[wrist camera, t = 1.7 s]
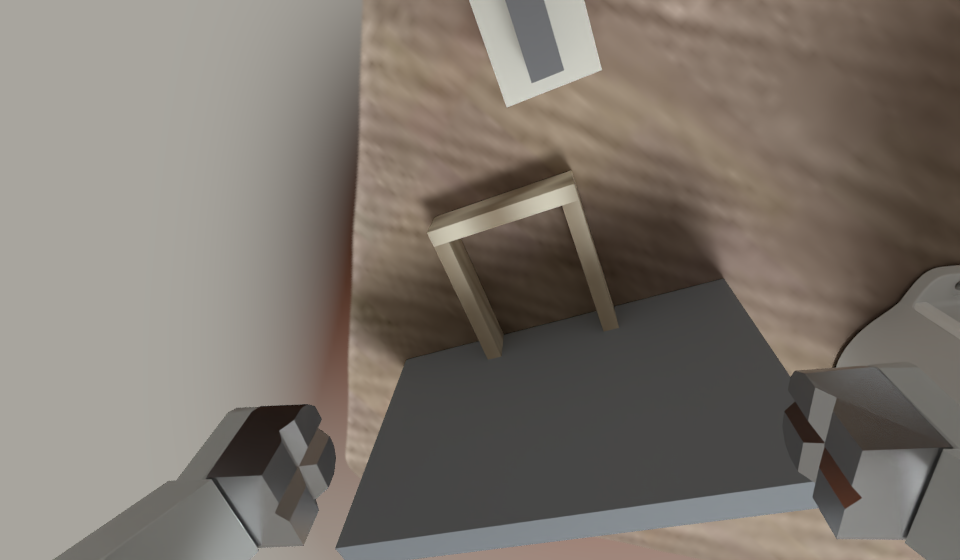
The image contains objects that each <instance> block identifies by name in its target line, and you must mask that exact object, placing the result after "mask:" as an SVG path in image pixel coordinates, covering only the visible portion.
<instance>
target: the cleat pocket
mask: <svg viewBox="0 0 960 560" xmlns="http://www.w3.org/2000/svg"><path fill="white" fill-rule="evenodd" d="M559 206H562V207H563V210H564V213H565V216H566V219H567V222H568V225H569V228H570V231H571V234H572V237H573V241H574V244H575V247H576V250H577V253H578V256H579V259H580V262H581V265H582V268H583V271H584V274H585V277H586V280H587V283H588V286H589V289H590V292H591V295H592V298H593V301H594V304H595V307H596V310H597V313H598V316H599V319H600V322H601V325H602V328H603V331H608V330H612V329H616V328H619V326H618V322H617V318H616V313H615V309H614V306H613V302H612V299H611V296H610V293H609V289H608V286H607V283H606V280H605V277H604V273H603V270H602V267H601V264H600V260H599V257H598V254H597V251H596V247H595V244H594V241H593V238H592V235H591V231H590V228H589V225H588V222H587V218H586V215H585V212H584V209H583V205H582V202H581V199H580V196H579V193H578V189H577V186H576V183H575V180H574V176H573V173H572V170H571V171H568V172H565V173H562V174H559V175H556V176H553V177H550V178H547V179H544V180H542V181H539V182H536V183H533V184H530V185H527V186H524V187H521V188H518V189H515V190H512V191H509V192H506V193H504V194H501V195H498V196H495V197H492V198H489V199H486V200H483V201H480V202H477V203H474V204H471V205H468V206H466V207H463V208H460V209H457V210H454V211H451V212H448V213H445V214H442V215H439V216H436V217H435V218H434V220H433V222H432V224H431V226H430V228H429V230H428V232H427V234H428V236H429V238H430V240H431V242H432V244H433V246H434V248H435V250H436V253H437V255H438V257H439V259H440V261H441V263H442V265H443V267H444V269H445V271H446V273H447V275H448V278H449V280H450V282H451V284H452V286H453V288H454V290H455V292H456V294H457V296H458V298H459V300H460V303H461V305H462V307H463V309H464V311H465V313H466V315H467V317H468V319H469V321H470V323H471V325H472V328H473V330H474V332H475V334H476V336H477V338H478V340H479V342H480V344H481V346H482V348H483V350H484V353H485V355H486V357H487V359H488V360H489V359H493V358H497V357H501V356H502V347H503V337H504V334H503V332H502V330H501V328H500V325H499V323H498V321H497V319H496V316H495V314H494V312H493V310H492V307H491V305H490V303H489V301H488V298H487V296H486V294H485V292H484V290H483V287H482V285H481V283H480V281H479V278H478V276H477V274H476V272H475V269H474V267H473V265H472V263H471V261H470V258H469V256H468V254H467V252H466V249H465V247H464V245H463V243H462V240H461V238H463V237H466V236H469V235H473V234H476V233H479V232H482V231H485V230H488V229H491V228H494V227H497V226H500V225H503V224H507V223H510V222H513V221H516V220H519V219H522V218H525V217H528V216H531V215H534V214H537V213H541V212H544V211H547V210H550V209H553V208H556V207H559Z"/></svg>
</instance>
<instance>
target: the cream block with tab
mask: <svg viewBox="0 0 960 560" xmlns="http://www.w3.org/2000/svg"><path fill="white" fill-rule="evenodd" d="M469 1H470V4H471V7H472V10H473V13H474V15H475V18H476V21H477V24H478V27H479V30H480V33H481V35H482V38H483V41H484V44H485V47H486V50H487V53H488V55H489V58H490V61H491V64H492V67H493V70H494V72H495V75H496V78H497V81H498V84H499V87H500V90H501V92H502V95H503V98H504V101H505V104H506V107H509V106H512V105H514V104H517V103H519V102H522V101H524V100H527V99H529V98H532V97H535V96H537V95H540V94H542V93H545V92H547V91H550V90H552V89H555V88H557V87H560V86H562V85H565V84H568V83H570V82H573V81H575V80H578V79H580V78H583V77H585V76H588V75H590V74H593V73H596V72H598V71H601V70H602V69H601V65H600V61H599V57H598V53H597V49H596V45H595V41H594V37H593V33H592V29H591V25H590V21H589V18H588V14H587V10H586V6H585V2H584V0H469Z"/></svg>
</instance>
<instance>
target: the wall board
mask: <svg viewBox="0 0 960 560" xmlns="http://www.w3.org/2000/svg"><path fill="white" fill-rule="evenodd" d="M614 309H615V313H616V318H617V322H618V326H619V328H616V329H612V330H608V331H603V328H602V325H601V322H600V319H599V316H598V313H597V311H595V312H591V313H587V314H583V315H579V316H575V317H571V318H568V319H564V320H560V321H556V322H552V323H548V324H544V325H540V326H536V327H532V328H529V329H525V330H521V331H517V332H513V333H509V334H505V335H504V337H503V347H502V356H501V357H497V358H493V359H489V360H488V359H487V357H486V355H485V353H484V350H483V348H482V346H481V344H480V342H479V341H478V342H474V343H470V344H466V345H462V346H458V347H454V348H450V349H446V350H443V351H439V352H435V353H431V354H427V355H423V356H419V357H415V358H411V359H407V360H406V362H405V365H404V367H403V370H402V372H401V375H400V378H399V380H398V383H397V386H396V388H395V391H394V394H393V396H392V399H391V402H390V404H389V407H388V410H387V412H386V415H385V418H384V420H383V423H382V426H381V428H380V431H379V434H378V436H377V439H376V442H375V444H374V447H373V450H372V452H371V455H370V458H369V460H368V463H367V465H366V468H365V471H364V473H363V476H362V479H361V482H360V484H359V487H358V489H357V492H356V495H355V497H354V500H353V503H352V505H351V508H350V511H349V513H348V516H347V519H346V521H345V524H344V527H343V530H342V532H341V535H340V537H339V540H338V543H337V545H336V550H337V551H338V552H339V553H340V555H341V556H342V557H343V558H344V559H345V560H410V559H419V558H427V557H435V556H442V555H450V554H458V553H467V552H474V551H482V550H490V549H498V548H506V547H514V546H521V545H529V544H538V543H545V542H554V541H561V540H569V539H578V538H585V537H593V536H601V535H609V534H617V533H625V532H633V531H641V530H649V529H657V528H665V527H673V526H681V525H688V524H696V523H704V522H712V521H720V520H728V519H736V518H744V517H752V516H760V515H768V514H776V513H784V512H792V511H799V510H807V509H815V508H818V506H817V504H816V502H815V501H814V499H813V497H812V496H813V492H814V488H815V483H814V482H813V481H811V480H810V479H808V478H807V477H805V476H804V475H802V474H801V473H799V472H798V471H797V469H796V467H795V465H794V464H793V462H792V460H791V458H790V456H789V453H788V451H787V448H786V445H785V441H784V435H783V428H782V425H783V417H784V411H785V410H786V409H787V408H788V407H789V406H790V405H792V404H793V403H794V402H795V400H794V399H793V397H792V396H791V394H790V393H789V391H788V387H789V381H790V376H789V374H788V373H787V371H786V370H785V368H784V367H783V365H782V364H781V362H780V361H779V359H778V358H777V356H776V355H775V353H774V352H773V351H772V349H771V348H770V346H769V345H768V343H767V342H766V340H765V339H764V337H763V336H762V334H761V333H760V331H759V330H758V328H757V327H756V325H755V324H754V322H753V321H752V319H751V318H750V316H749V315H748V314H747V312H746V311H745V309H744V308H743V306H742V305H741V303H740V302H739V300H738V299H737V297H736V296H735V294H734V293H733V291H732V290H731V288H730V287H729V285H728V284H727V282H726V281H725V279H720V280H716V281H712V282H708V283H704V284H700V285H696V286H693V287H689V288H685V289H681V290H677V291H673V292H669V293H665V294H661V295H657V296H654V297H650V298H646V299H642V300H638V301H634V302H630V303H626V304H622V305H618V306H614Z"/></svg>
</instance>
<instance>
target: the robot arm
mask: <svg viewBox="0 0 960 560" xmlns="http://www.w3.org/2000/svg"><path fill="white" fill-rule="evenodd" d="M959 281H960V265H955V266H945V267H938V268H934V269H932V270H929V271H928V272H926V273H925V274H923V275H922V276H921V277H920V278H919V279H918V280H917V281H916V282H915V283H914V284H913V285H912V287H911V288H910V289H909V290H908V292H907V293H906V294H905V295H904V297H903V298H902V299H901V301H900V302H899V303H898V304H896V305H895V306H894V307H893V308H891V309H890V310H889V311H887V312H886V313H884V314H883V315H881V316H880V317H878V318H877V319H876V320H874V321H873V322H871V323H870V324H869V325H868V326H866V327H865V328H864V329H863V330H862V331H861V332H860V333H858V334H857V335H856V337H855V338H854V339H853V340H852V341H851V342H850V343H849V345H848V346H847V347H846V349H845V350H844V351H843V353H842V355H841V357H840V359H839V361H838V363H837V365H836V368H825V369H812V370H799V371H795V372H794V373H793V374H792V376H791V377H790V381H789V387H788V391H789V393H790V394H791V396H792V397H793V399H794V400H795V402H794V403H793V404H792V405H790V406H789V407H788V408H787V409H786V410H785V411H784V417H783V425H782V428H783V435H784V441H785V445H786V448H787V451H788V453H789V456H790V458H791V460H792V462H793V464H794V465H795V467H796V469H797V471H798V472H799V473H801V474H802V475H804V476H805V477H807V478H808V479H810V480H811V481H813V482H814V483H815V488H814V492H813V496H812V497H813V499H814V501H815V502H816V504H817V506H818V508H819V509H820V511H821V513H822V515H823V516H824V518H825V520H826V521H827V523H828V525H829V527H830V528H831V530H832V532H833V533H834V535H835V537H836V539H887V540H906V541H905V543H906V544H907V545H908V546H909V547H911V548H912V549H913V550H915V551H916V552H917V553H918V554H920V555H921V556H922V557H924V558H925V559H926V560H960V282H959ZM958 282H959V283H958ZM956 283H958V284H956ZM321 420H322V419H321V417H320V415H319V413H318V411H317V409H316V407H315V406H312V405H308V404H302V405H280V406H260V407H245V408H236V409H234V410H232V411H230V412H228V413H227V414H226V416H225V417H224V419H223V420H222V421H221V422H220V424H219V425H218V426H217V428H216V429H215V430H214V432H213V433H212V434H211V435H210V437H209V438H208V439H207V441H206V442H205V443H204V445H203V446H202V447H201V449H200V450H199V451H198V453H197V454H196V455H195V457H194V458H193V459H192V460H191V462H190V463H189V464H188V466H187V467H186V468H185V470H184V471H183V472H182V474H181V475H180V476H179V477H178V479H177V480H176V481H168V482H166V483H165V484H163V485H162V486H160V487H159V488H157V489H156V490H154V491H153V492H151V493H150V494H149V495H147V496H146V497H144V498H143V499H141V500H140V501H138V502H137V503H135V504H134V505H132V506H131V507H130V508H128V509H127V510H125V511H124V512H122V513H121V514H119V515H118V516H116V517H115V518H113V519H112V520H111V521H109V522H108V523H106V524H105V525H103V526H102V527H100V528H99V529H97V530H96V531H94V532H93V533H91V534H90V535H88V536H87V537H85V538H84V539H83V540H81V541H80V542H78V543H77V544H75V545H74V546H72V547H71V548H69V549H68V550H66V551H65V552H64V553H62V554H61V555H59V556H58V557H56V558H55V559H53V560H250V559H251V558H252V557H253V556H254V555H255V554H256V553H257V552H258V551H259V549H258V548H263V547H286V546H304V543H305V541H306V539H307V536H308V534H309V532H310V529H311V527H312V525H313V522H314V520H315V518H316V516H317V513H318V511H319V509H318V506H317V502H316V498H317V497H319V496H320V495H321V494H322V493H323V492H324V491H325V490H327V489H328V487H329V485H330V482H331V480H332V477H333V475H334V469H335V461H336V455H335V449H334V445H333V442H332V440H331V438H330V436H328V435H327V434H326V433H324V432H323V431H322V430H320V429H319V428H318V427H319V425H320V422H321Z"/></svg>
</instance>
